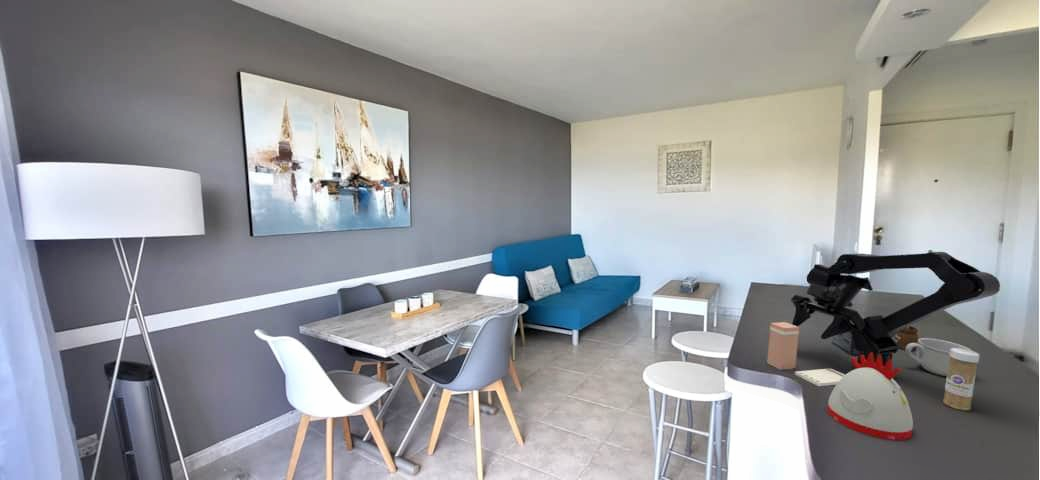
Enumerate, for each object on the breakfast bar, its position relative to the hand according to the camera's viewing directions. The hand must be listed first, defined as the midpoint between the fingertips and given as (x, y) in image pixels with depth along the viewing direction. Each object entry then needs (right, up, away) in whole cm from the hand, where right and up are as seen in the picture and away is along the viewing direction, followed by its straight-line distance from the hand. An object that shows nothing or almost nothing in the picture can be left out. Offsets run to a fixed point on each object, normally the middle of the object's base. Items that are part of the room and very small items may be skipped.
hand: (806, 332), depth 115 cm
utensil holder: (+43, -9, +16) cm, 47 cm away
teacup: (+34, -11, -2) cm, 36 cm away
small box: (+24, -9, +13) cm, 29 cm away
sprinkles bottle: (+20, -12, -21) cm, 32 cm away
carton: (-7, -9, 0) cm, 12 cm away
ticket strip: (-1, -10, -8) cm, 13 cm away
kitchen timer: (-7, -13, -28) cm, 32 cm away
